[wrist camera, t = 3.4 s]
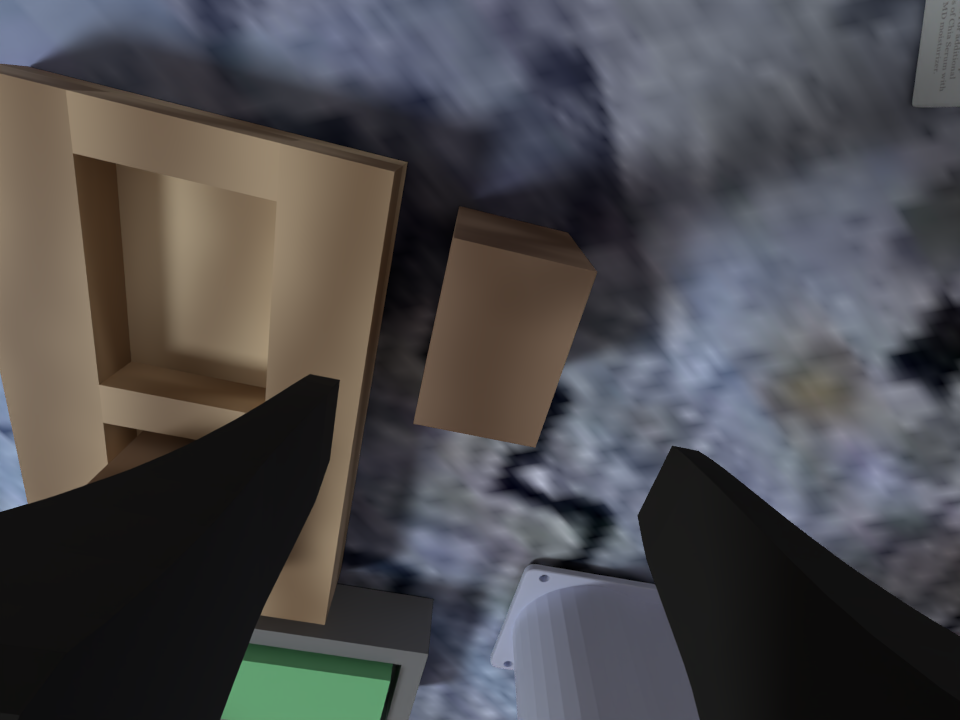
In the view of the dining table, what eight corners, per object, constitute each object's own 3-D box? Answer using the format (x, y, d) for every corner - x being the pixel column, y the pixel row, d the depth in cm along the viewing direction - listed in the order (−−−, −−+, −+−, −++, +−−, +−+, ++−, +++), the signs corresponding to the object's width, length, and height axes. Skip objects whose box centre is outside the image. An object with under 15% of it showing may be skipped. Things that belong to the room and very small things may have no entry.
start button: (397, 633, 26) (390, 681, 24) (383, 690, 28) (375, 738, 26) (218, 607, 25) (194, 653, 23) (218, 667, 27) (195, 715, 25)
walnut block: (567, 232, 18) (597, 272, 14) (522, 374, 21) (535, 447, 16) (459, 205, 18) (453, 237, 13) (427, 354, 20) (413, 423, 16)
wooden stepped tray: (407, 162, 17) (394, 172, 14) (340, 570, 26) (324, 624, 23) (27, 66, 16) (-66, 56, 13) (92, 530, 24) (44, 582, 22)
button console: (433, 599, 26) (428, 654, 24) (407, 687, 30) (400, 744, 27) (199, 562, 25) (166, 615, 23) (200, 659, 29) (171, 716, 26)
